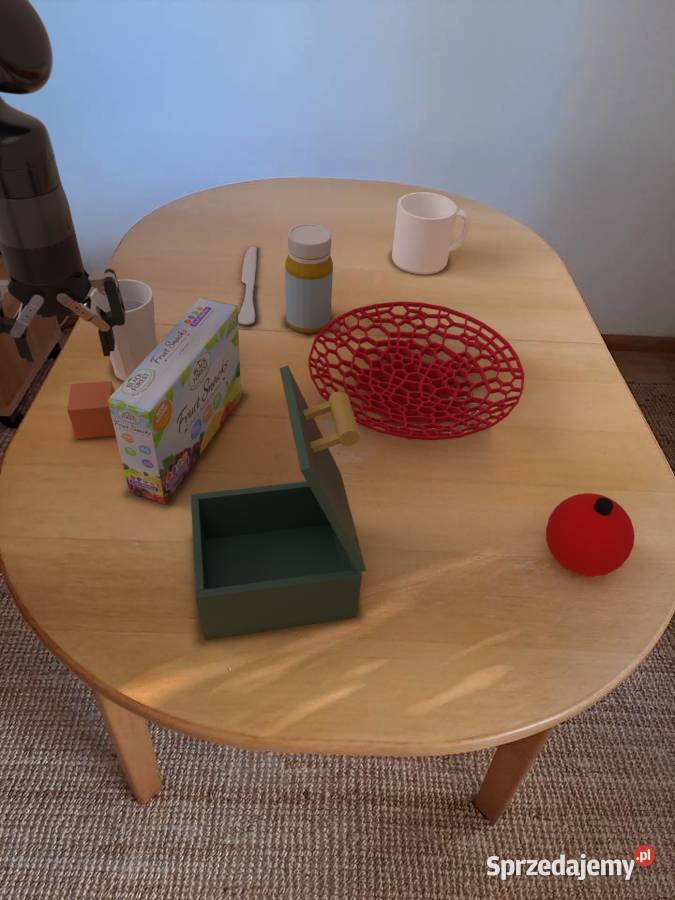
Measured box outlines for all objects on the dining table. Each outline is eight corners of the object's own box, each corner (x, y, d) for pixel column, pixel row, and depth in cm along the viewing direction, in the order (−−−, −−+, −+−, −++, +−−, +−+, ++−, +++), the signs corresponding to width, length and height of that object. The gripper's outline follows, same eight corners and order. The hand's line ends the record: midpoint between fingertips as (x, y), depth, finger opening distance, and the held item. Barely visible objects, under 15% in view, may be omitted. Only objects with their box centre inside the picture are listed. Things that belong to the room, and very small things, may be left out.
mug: (389, 271, 117) (395, 215, 110) (393, 243, 124) (400, 189, 117) (461, 279, 116) (472, 224, 109) (461, 251, 123) (472, 197, 116)
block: (79, 412, 89) (70, 384, 85) (118, 409, 90) (111, 380, 86) (76, 439, 85) (67, 410, 82) (117, 435, 86) (109, 406, 83)
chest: (203, 640, 67) (195, 597, 61) (198, 539, 75) (190, 494, 70) (356, 617, 69) (362, 575, 64) (334, 522, 78) (337, 477, 72)
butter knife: (235, 323, 103) (254, 323, 104) (245, 245, 120) (261, 245, 120) (235, 325, 104) (254, 325, 104) (245, 247, 120) (261, 247, 121)
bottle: (278, 328, 104) (276, 239, 93) (296, 305, 109) (297, 218, 98) (320, 340, 102) (323, 250, 92) (336, 316, 107) (341, 228, 96)
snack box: (170, 507, 78) (150, 412, 68) (127, 494, 79) (101, 398, 69) (245, 396, 93) (238, 303, 82) (208, 386, 94) (197, 293, 83)
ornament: (558, 514, 80) (584, 457, 73) (630, 555, 76) (664, 499, 69) (522, 561, 75) (546, 504, 68) (597, 608, 71) (630, 553, 64)
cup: (172, 353, 98) (160, 281, 90) (156, 388, 93) (142, 315, 84) (118, 348, 99) (101, 276, 90) (100, 383, 93) (80, 310, 85)
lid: (300, 470, 52) (361, 448, 51) (279, 368, 60) (331, 348, 60) (358, 573, 63) (408, 556, 63) (334, 476, 72) (377, 460, 72)
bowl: (347, 311, 108) (349, 284, 104) (530, 355, 102) (538, 328, 98) (274, 429, 88) (273, 400, 85) (495, 492, 82) (504, 464, 79)
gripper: (108, 207, 72) (132, 332, 84) (-35, 213, 69) (9, 341, 81) (106, 242, 67) (132, 370, 78) (-49, 249, 64) (1, 380, 76)
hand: (70, 355), depth 80 cm, fingers open, 8 cm apart
